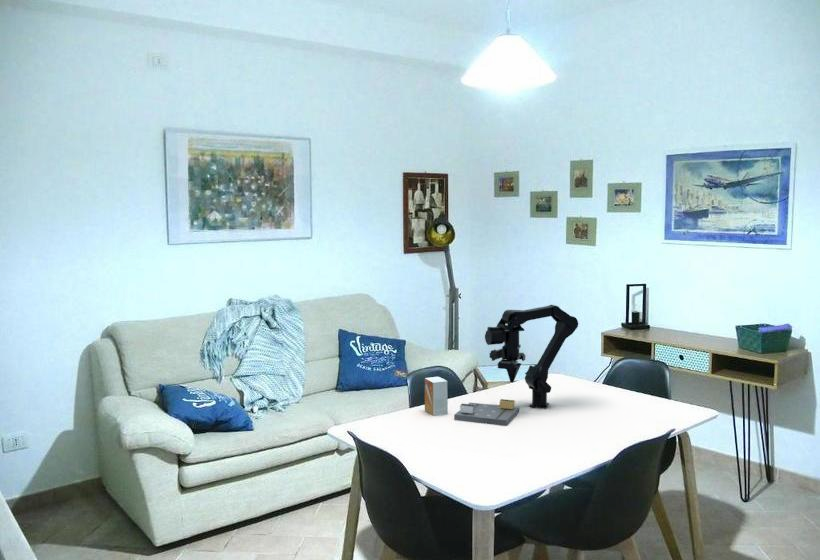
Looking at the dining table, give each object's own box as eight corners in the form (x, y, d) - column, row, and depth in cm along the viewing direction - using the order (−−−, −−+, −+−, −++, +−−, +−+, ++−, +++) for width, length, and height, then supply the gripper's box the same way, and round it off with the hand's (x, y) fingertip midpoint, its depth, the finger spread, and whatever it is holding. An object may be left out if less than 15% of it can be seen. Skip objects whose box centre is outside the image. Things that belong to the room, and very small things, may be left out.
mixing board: (469, 407, 286) (469, 402, 286) (519, 412, 278) (519, 407, 278) (454, 419, 270) (454, 414, 269) (506, 425, 262) (506, 420, 262)
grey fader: (462, 410, 274) (462, 402, 273) (475, 411, 272) (475, 404, 271) (460, 412, 271) (460, 404, 271) (472, 413, 269) (472, 406, 269)
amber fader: (501, 405, 279) (501, 398, 279) (514, 407, 277) (514, 399, 277) (499, 407, 276) (499, 400, 276) (512, 409, 274) (512, 401, 274)
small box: (424, 410, 283) (424, 377, 281) (439, 408, 285) (438, 376, 284) (433, 416, 275) (432, 382, 274) (448, 414, 278) (447, 380, 276)
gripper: (498, 337, 292) (498, 375, 294) (484, 345, 275) (484, 386, 277) (525, 338, 288) (525, 377, 289) (513, 347, 271) (513, 388, 272)
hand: (511, 382), depth 282 cm, fingers closed
